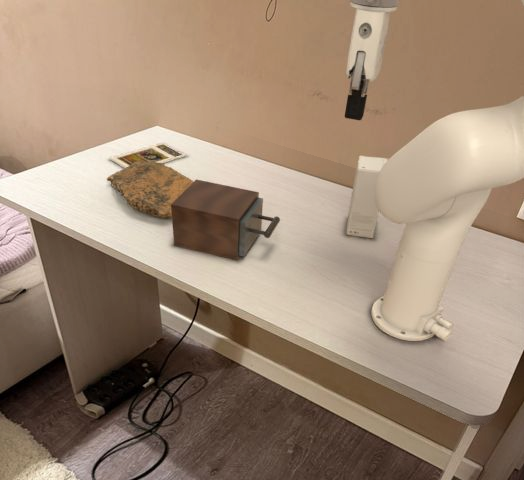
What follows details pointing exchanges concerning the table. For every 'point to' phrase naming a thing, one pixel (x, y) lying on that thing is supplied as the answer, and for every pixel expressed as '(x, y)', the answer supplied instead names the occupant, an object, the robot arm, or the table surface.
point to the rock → (150, 187)
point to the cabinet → (210, 218)
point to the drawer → (254, 226)
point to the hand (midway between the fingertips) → (353, 117)
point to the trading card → (148, 155)
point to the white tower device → (364, 198)
